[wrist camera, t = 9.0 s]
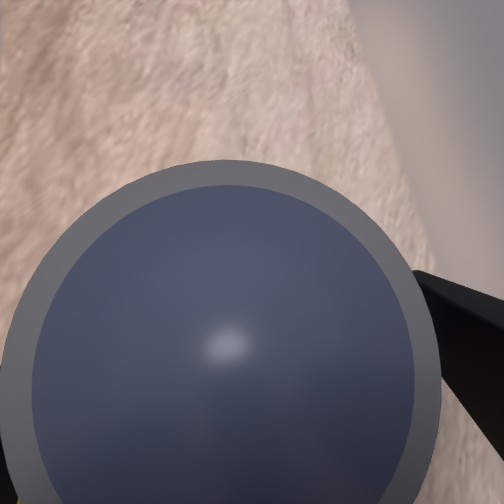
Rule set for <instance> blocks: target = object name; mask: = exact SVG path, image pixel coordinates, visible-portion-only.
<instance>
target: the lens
mask: <svg viewBox="0 0 504 504" xmlns="http://www.w3.org/2000/svg"><path fill="white" fill-rule="evenodd" d="M440 409H441V366H440V358H439V349H438V343H437V339H436V334H435V330H434V326H433V322H432V318H431V315H430V312H429V309H428V307H427V304H426V301H425V298H424V296H423V293H422V291H421V289H420V287H419V285H418V283H417V281H416V279H415V277H414V275H413V273H412V271H411V269H410V267H409V265H408V264H407V262H406V261H405V259H404V258H403V256H402V255H401V253H400V252H399V250H398V249H397V247H396V246H395V245H394V243H393V242H392V241H391V240H390V239H389V237H388V236H387V235H386V234H385V233H384V232H383V230H382V229H381V228H380V227H379V226H378V225H377V224H376V223H375V222H374V221H373V220H372V219H371V218H370V217H369V216H368V215H367V214H366V213H364V212H363V211H362V210H361V209H360V208H359V207H358V206H356V205H355V204H353V203H352V202H351V201H349V200H348V199H347V198H345V197H344V196H343V195H341V194H340V193H338V192H336V191H335V190H333V189H331V188H329V187H328V186H326V185H324V184H322V183H321V182H319V181H317V180H314V179H312V178H310V177H307V176H305V175H302V174H300V173H298V172H295V171H292V170H288V169H285V168H281V167H278V166H274V165H270V164H264V163H258V162H252V161H239V160H214V161H200V162H194V163H189V164H184V165H178V166H174V167H170V168H167V169H164V170H161V171H158V172H155V173H152V174H149V175H147V176H144V177H142V178H140V179H138V180H136V181H133V182H131V183H129V184H127V185H125V186H123V187H122V188H120V189H118V190H117V191H115V192H113V193H112V194H110V195H108V196H107V197H105V198H103V199H102V200H101V201H99V202H98V203H97V204H96V205H94V206H93V207H92V208H90V209H89V210H88V211H87V212H85V213H84V214H83V215H81V216H80V217H79V218H78V219H77V220H76V221H75V222H74V223H73V224H72V225H71V226H70V227H69V228H68V229H67V230H66V231H65V232H64V233H63V234H62V235H61V236H60V238H59V239H58V240H57V241H56V243H55V244H54V245H53V246H52V248H51V249H50V250H49V251H48V253H47V254H46V255H45V257H44V258H43V259H42V261H41V263H40V264H39V266H38V267H37V269H36V271H35V272H34V274H33V276H32V277H31V279H30V280H29V282H28V284H27V286H26V288H25V290H24V293H23V295H22V297H21V299H20V301H19V303H18V306H17V308H16V310H15V313H14V316H13V319H12V322H11V325H10V328H9V332H8V335H7V338H6V341H5V347H4V352H3V358H2V363H1V369H0V434H1V441H2V445H3V450H4V455H5V459H6V464H7V468H8V472H9V474H10V477H11V480H12V482H13V485H14V488H15V491H16V493H17V496H18V499H19V501H20V503H21V504H413V502H414V501H415V499H416V497H417V495H418V493H419V491H420V488H421V486H422V483H423V480H424V478H425V475H426V473H427V470H428V467H429V465H430V462H431V458H432V454H433V450H434V446H435V442H436V438H437V433H438V426H439V418H440Z"/></svg>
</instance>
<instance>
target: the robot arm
mask: <svg viewBox="0 0 504 504" xmlns="http://www.w3.org/2000/svg"><path fill="white" fill-rule="evenodd" d="M412 273H413V275H414V277H415V279H416V281H417V283H418V285H419V287H420V289H421V291H422V293H423V296H424V298H425V301H426V304H427V307H428V309H429V312H430V315H431V318H432V322H433V326H434V330H435V334H436V339H437V343H438V349H439V358H440V366H441V377H442V378H443V379H444V381H445V382H446V383H447V385H448V386H449V387H450V389H451V390H452V392H453V393H454V394H455V396H456V397H457V398H458V400H459V401H460V402H461V404H462V405H463V407H464V408H465V409H466V411H467V412H468V413H469V415H470V416H471V417H472V419H473V420H474V421H475V423H476V424H477V426H478V427H479V428H480V430H481V431H482V432H483V434H484V435H485V436H486V438H487V439H488V441H489V442H490V443H491V445H492V446H493V447H494V449H495V450H496V451H497V453H498V454H499V455H500V457H501V458H502V460H503V461H504V300H501V299H498V298H495V297H493V296H490V295H487V294H484V293H482V292H478V291H476V290H473V289H470V288H468V287H465V286H462V285H459V284H456V283H454V282H451V281H448V280H445V279H442V278H440V277H437V276H434V275H431V274H428V273H426V272H423V271H420V270H413V271H412ZM0 369H1V366H0ZM17 502H18V496H17V493H16V491H15V488H14V485H13V482H12V480H11V477H10V474H9V472H8V468H7V464H6V459H5V455H4V450H3V445H2V441H1V434H0V504H17Z"/></svg>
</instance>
